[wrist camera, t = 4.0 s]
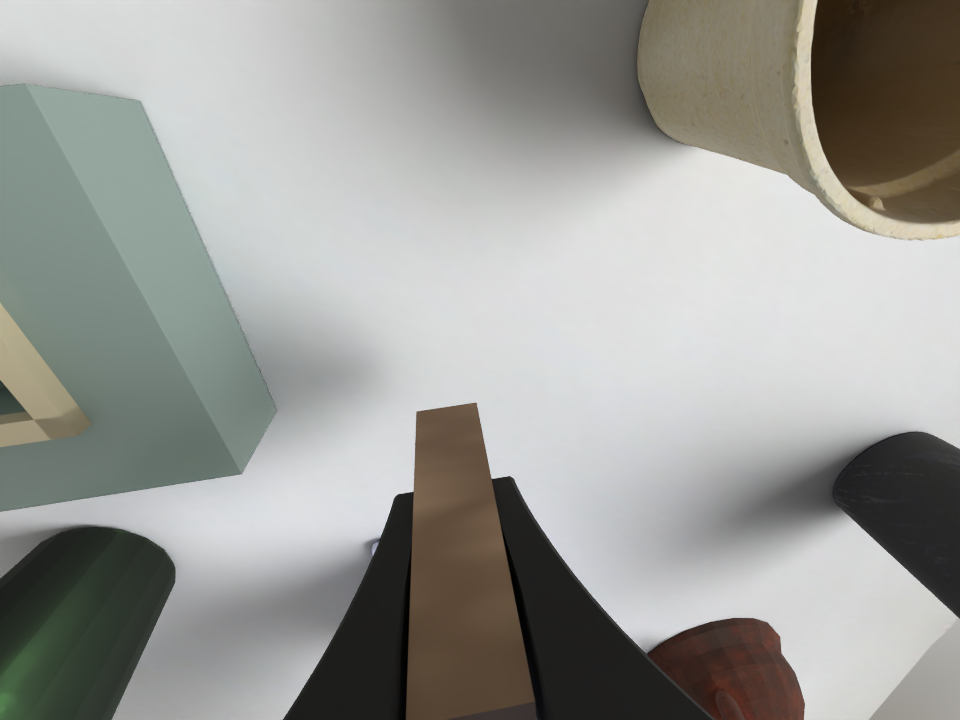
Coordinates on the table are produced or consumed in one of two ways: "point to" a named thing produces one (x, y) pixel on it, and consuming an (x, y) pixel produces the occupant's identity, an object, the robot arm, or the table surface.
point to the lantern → (733, 670)
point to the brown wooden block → (461, 582)
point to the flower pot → (820, 99)
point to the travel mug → (910, 507)
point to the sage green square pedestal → (109, 312)
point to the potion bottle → (78, 623)
